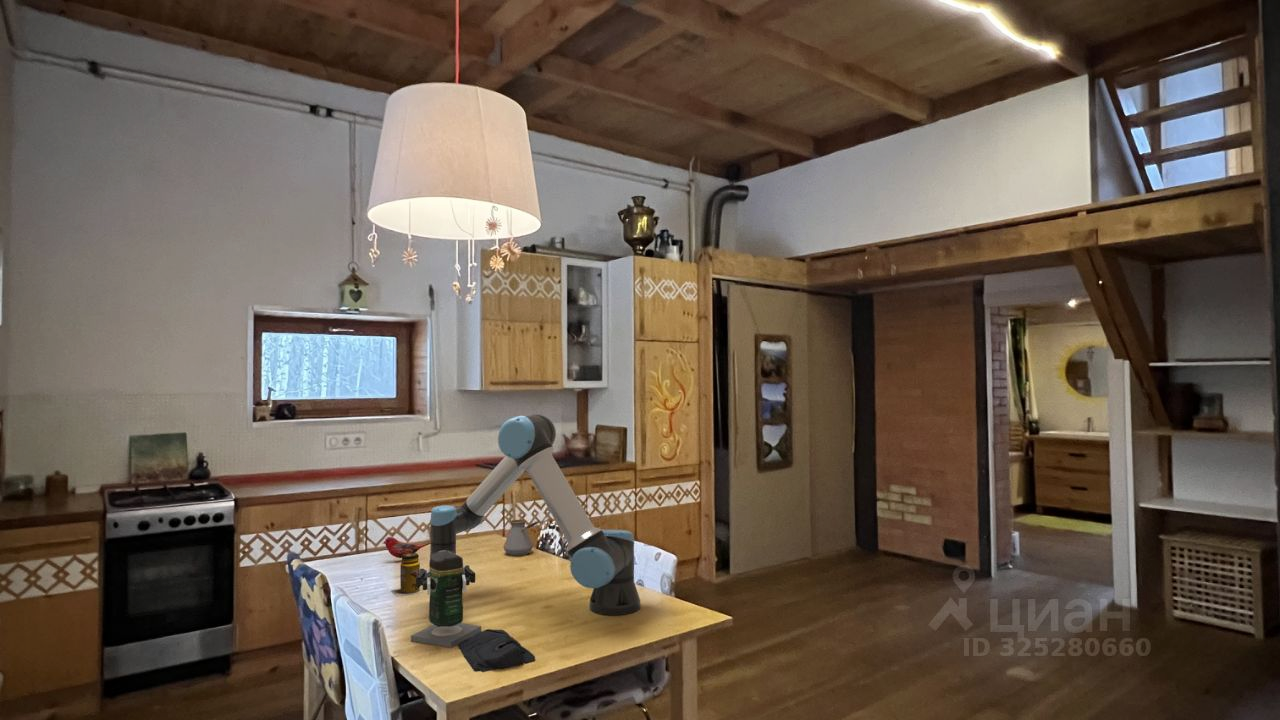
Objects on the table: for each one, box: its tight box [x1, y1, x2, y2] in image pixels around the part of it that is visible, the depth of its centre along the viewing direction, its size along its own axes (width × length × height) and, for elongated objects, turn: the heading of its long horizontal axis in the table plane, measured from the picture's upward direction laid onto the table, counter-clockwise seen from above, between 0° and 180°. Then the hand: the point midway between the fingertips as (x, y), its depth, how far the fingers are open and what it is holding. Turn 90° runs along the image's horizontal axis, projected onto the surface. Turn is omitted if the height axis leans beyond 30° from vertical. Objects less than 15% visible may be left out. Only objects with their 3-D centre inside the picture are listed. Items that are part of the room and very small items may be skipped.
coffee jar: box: [428, 551, 464, 627], centre depth 197 cm, size 10×8×19 cm
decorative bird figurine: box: [382, 536, 431, 563], centre depth 277 cm, size 3×18×10 cm, turn 115°
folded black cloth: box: [457, 628, 536, 673], centre depth 184 cm, size 15×22×5 cm
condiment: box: [391, 552, 424, 597], centre depth 238 cm, size 7×8×12 cm
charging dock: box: [410, 622, 482, 649], centre depth 196 cm, size 13×13×2 cm
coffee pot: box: [503, 519, 542, 557], centre depth 285 cm, size 21×12×15 cm, turn 40°
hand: (446, 587), depth 192 cm, fingers closed on coffee jar, 8 cm apart
